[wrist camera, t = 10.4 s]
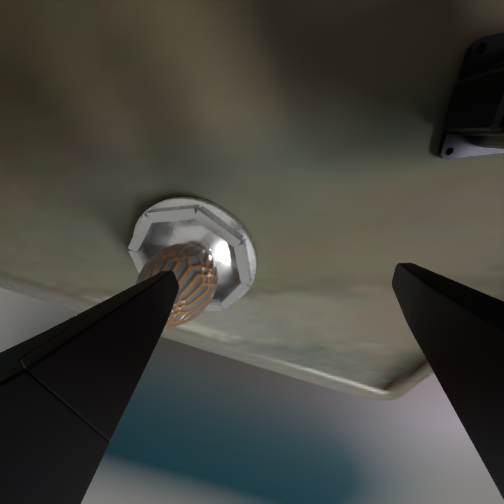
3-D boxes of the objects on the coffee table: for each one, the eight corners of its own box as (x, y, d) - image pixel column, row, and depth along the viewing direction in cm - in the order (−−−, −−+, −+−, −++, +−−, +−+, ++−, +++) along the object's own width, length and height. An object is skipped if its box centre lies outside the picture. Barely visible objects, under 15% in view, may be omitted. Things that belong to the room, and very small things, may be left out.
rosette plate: (247, 189, 19) (243, 195, 17) (263, 302, 25) (261, 315, 24) (117, 202, 21) (101, 209, 19) (163, 301, 28) (154, 313, 26)
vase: (224, 290, 24) (196, 361, 17) (168, 280, 25) (117, 345, 17) (225, 238, 20) (191, 299, 13) (160, 228, 21) (91, 282, 13)
